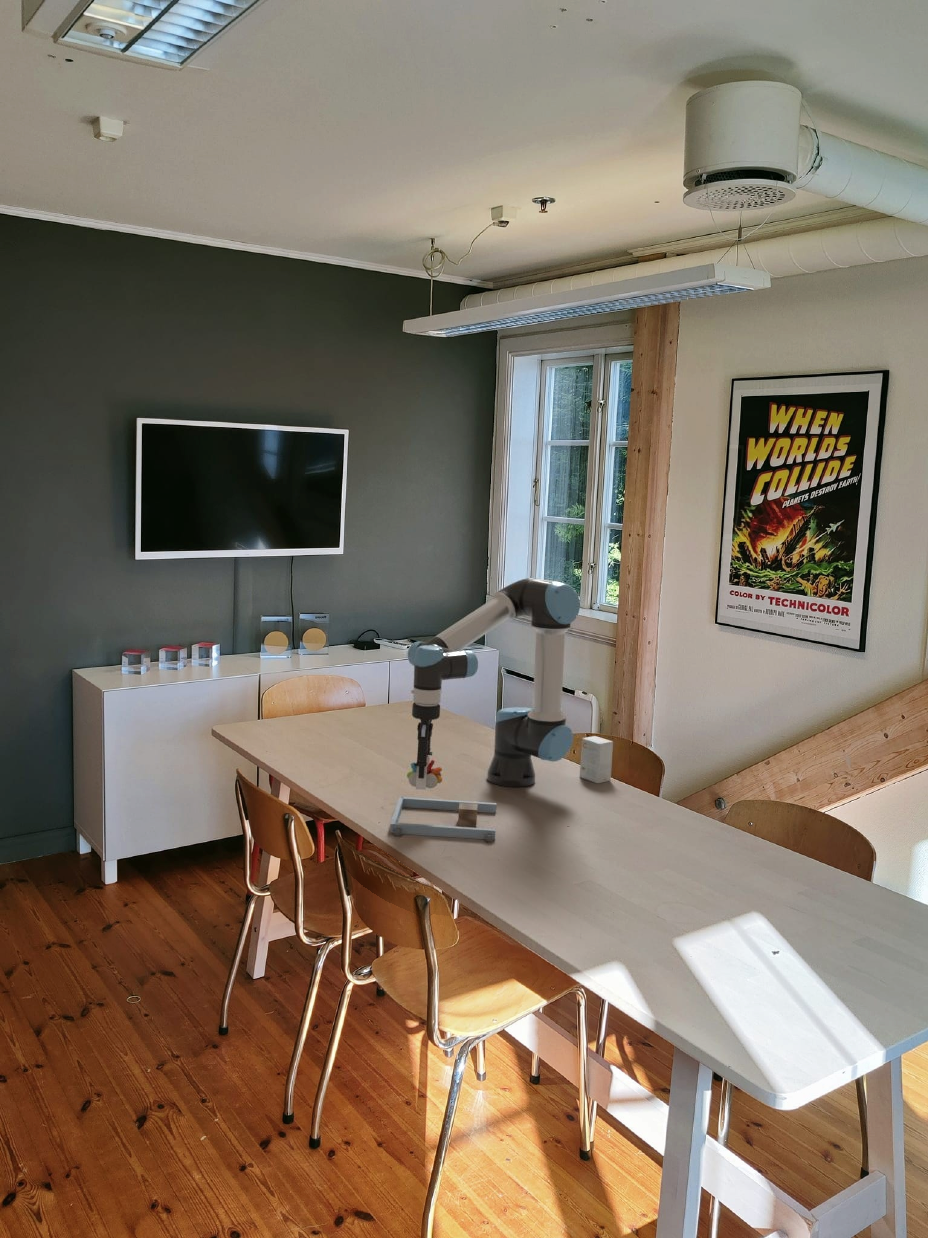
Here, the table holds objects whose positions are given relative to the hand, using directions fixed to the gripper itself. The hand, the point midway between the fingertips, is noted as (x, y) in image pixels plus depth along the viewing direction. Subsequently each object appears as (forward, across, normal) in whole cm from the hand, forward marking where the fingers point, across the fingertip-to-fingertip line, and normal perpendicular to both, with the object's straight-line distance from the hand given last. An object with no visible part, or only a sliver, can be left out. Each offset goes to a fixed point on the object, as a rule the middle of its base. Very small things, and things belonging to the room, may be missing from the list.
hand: (422, 783), depth 276 cm
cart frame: (+10, 0, +7) cm, 13 cm away
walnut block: (+10, 0, +13) cm, 17 cm away
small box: (+10, -49, +52) cm, 72 cm away
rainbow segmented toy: (0, 0, +1) cm, 1 cm away
